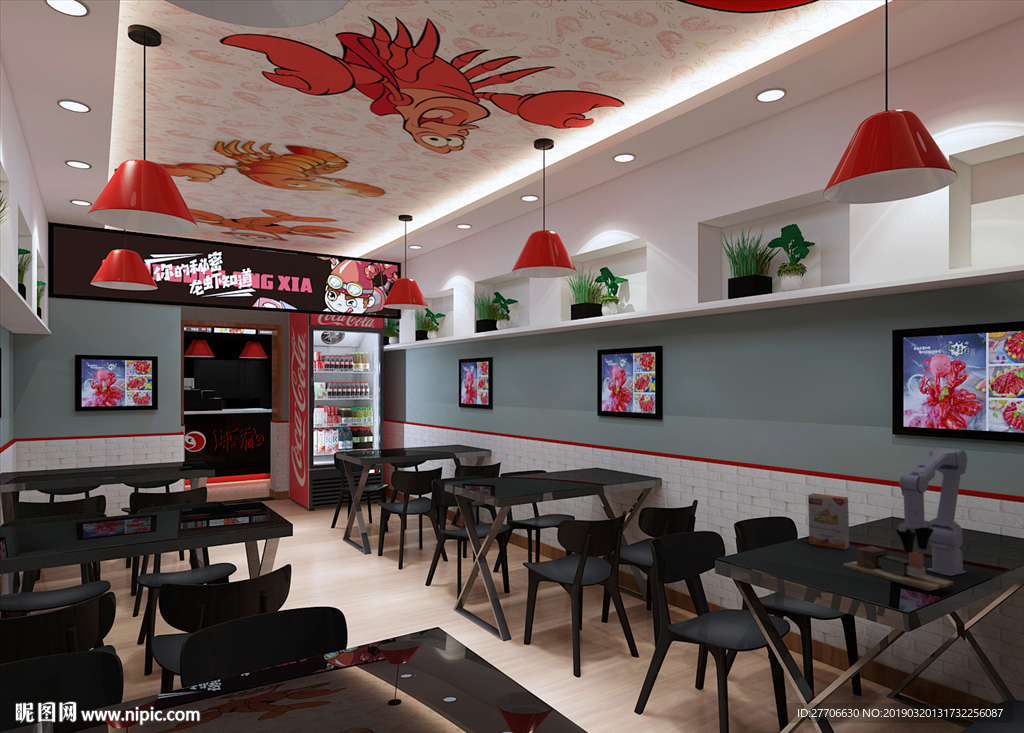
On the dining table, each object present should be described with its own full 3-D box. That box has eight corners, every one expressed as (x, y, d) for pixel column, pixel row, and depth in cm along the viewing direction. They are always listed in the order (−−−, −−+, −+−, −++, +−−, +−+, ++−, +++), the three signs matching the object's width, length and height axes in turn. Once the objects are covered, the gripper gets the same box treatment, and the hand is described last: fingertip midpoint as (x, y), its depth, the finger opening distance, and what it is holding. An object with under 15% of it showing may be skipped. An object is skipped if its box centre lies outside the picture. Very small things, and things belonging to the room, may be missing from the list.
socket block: (871, 562, 223) (870, 545, 223) (887, 566, 218) (886, 549, 218) (857, 565, 220) (856, 548, 220) (872, 569, 214) (872, 552, 214)
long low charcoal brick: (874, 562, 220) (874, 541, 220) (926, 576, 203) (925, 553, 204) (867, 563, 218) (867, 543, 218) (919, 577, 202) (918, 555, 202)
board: (867, 561, 227) (867, 558, 227) (953, 584, 200) (953, 581, 200) (842, 566, 221) (842, 563, 221) (928, 591, 194) (928, 587, 194)
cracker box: (808, 544, 253) (807, 494, 253) (813, 541, 257) (812, 492, 258) (845, 550, 243) (843, 498, 243) (849, 547, 247) (848, 496, 248)
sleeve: (889, 568, 215) (889, 555, 215) (912, 574, 208) (912, 560, 208) (881, 570, 213) (880, 556, 213) (904, 576, 206) (903, 562, 206)
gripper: (912, 514, 199) (914, 555, 198) (939, 510, 205) (940, 550, 204) (891, 510, 205) (893, 550, 204) (918, 506, 211) (919, 545, 211)
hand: (915, 550), depth 205 cm, fingers open, 7 cm apart
